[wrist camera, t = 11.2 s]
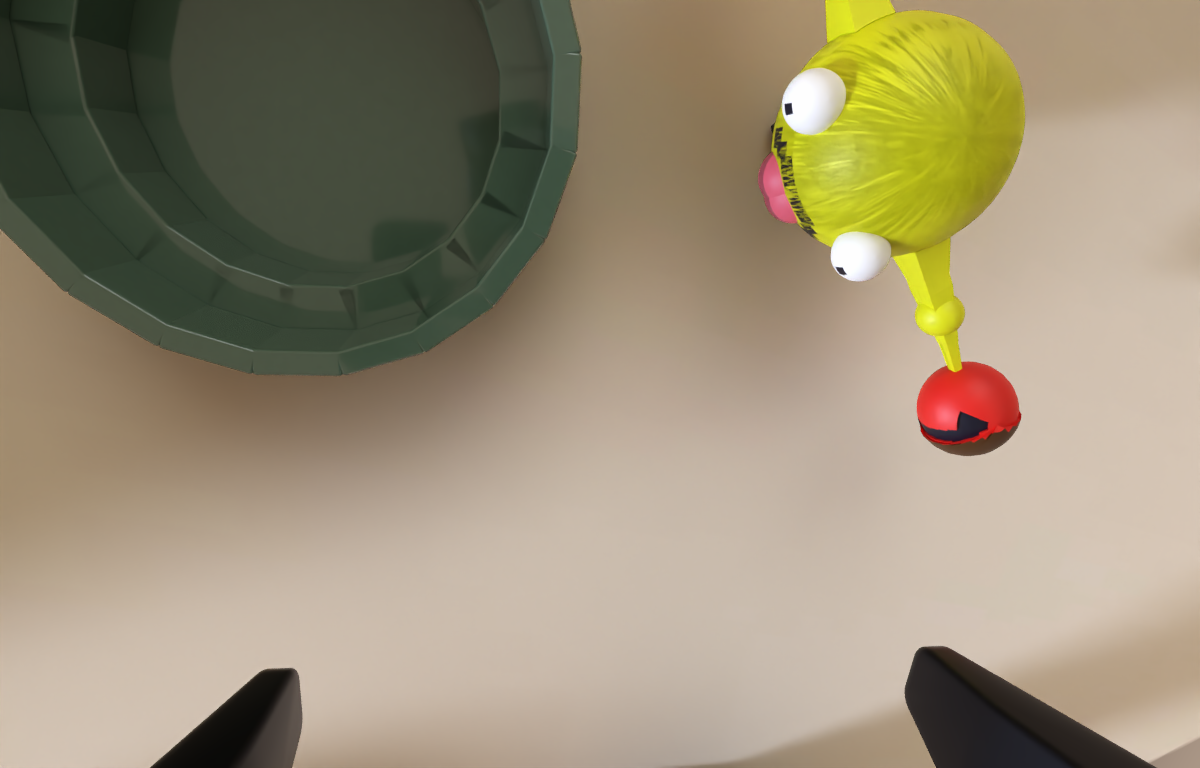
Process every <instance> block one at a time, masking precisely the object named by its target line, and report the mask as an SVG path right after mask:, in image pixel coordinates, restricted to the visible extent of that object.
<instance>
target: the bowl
mask: <svg viewBox="0 0 1200 768" xmlns="http://www.w3.org/2000/svg"><path fill="white" fill-rule="evenodd" d="M580 52H581V46H580V42H579V38H578V33H577V29H576V25H575V20H574V16H573V12H572V8H571V3H570V0H0V229H1V230H2V231H3V232H4V233H5V234H6V235H7V236H8V237H9V238H10V239H11V240H12V241H13V242H14V243H15V244H16V245H17V246H18V247H19V248H20V249H21V250H22V251H23V252H24V253H25V254H26V255H27V256H28V257H30V258H31V259H32V260H33V261H34V262H35V263H36V264H37V265H38V266H39V267H40V268H41V269H42V270H43V271H44V272H45V273H46V274H47V275H48V276H49V277H50V278H51V279H52V280H53V281H54V282H55V283H56V284H57V285H58V286H59V287H60V288H61V289H62V290H63V291H65V292H68V294H69V295H71V296H72V297H74V298H76V299H77V300H79V301H81V302H83V303H84V304H86V305H88V306H89V307H91V308H93V309H94V310H96V311H98V312H100V313H101V314H103V315H105V316H106V317H108V318H110V319H111V320H113V321H115V322H116V323H118V324H120V325H122V326H123V327H125V328H127V329H128V330H130V331H132V332H133V333H135V334H137V335H138V336H140V337H142V338H144V339H145V340H147V341H149V342H150V343H152V344H154V345H156V346H159V345H160V347H161V348H163V349H166V350H170V351H173V352H177V353H180V354H184V355H187V356H191V357H194V358H197V359H201V360H204V361H208V362H211V363H215V364H218V365H221V366H225V367H228V368H232V369H235V370H239V371H242V372H246V373H249V374H252V373H254V374H256V375H311V376H341V375H349V374H352V373H356V372H359V371H363V370H366V369H370V368H373V367H377V366H380V365H384V364H387V363H391V362H395V361H398V360H402V359H405V358H409V357H412V356H416V355H419V354H422V353H424V352H427V351H429V350H430V349H432V348H433V347H435V346H436V345H438V344H439V343H441V342H442V341H444V340H445V339H447V338H448V337H450V336H451V335H453V334H454V333H456V332H457V331H459V330H460V329H462V328H463V327H465V326H466V325H468V324H469V323H471V322H472V321H474V320H475V319H477V318H478V317H480V316H481V315H483V314H484V313H486V312H487V311H489V310H490V309H492V308H493V305H495V304H497V302H498V301H499V300H500V299H501V297H502V296H503V295H504V293H505V292H506V291H507V290H508V288H509V287H510V286H511V284H512V283H513V282H514V281H515V279H516V278H517V277H518V275H519V274H520V273H521V271H522V270H523V269H524V268H525V266H526V265H527V264H528V262H529V261H530V260H531V259H532V257H533V256H534V255H535V253H536V252H537V251H538V250H539V248H540V247H541V246H542V244H543V243H544V241H545V239H546V238H547V237H548V234H549V231H550V228H551V225H552V223H553V220H554V217H555V214H556V212H557V209H558V206H559V203H560V200H561V198H562V195H563V192H564V189H565V186H566V184H567V181H568V178H569V175H570V173H571V170H572V167H573V164H574V161H575V159H576V152H577V148H578V127H579V107H580V86H581V65H582V56H581V54H580Z"/></svg>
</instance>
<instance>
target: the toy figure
mask: <svg viewBox="0 0 1200 768" xmlns="http://www.w3.org/2000/svg"><path fill="white" fill-rule="evenodd" d="M825 7H826V29H827V43H828V44H827V45H825V46H824V47H823V48H822V49H821V50H819V51H818V52H817V53H816V54H815V55H814V56H813V57H812V58H811V59H810V61H809V62H808V63H807V64H806V65H805V67H804V68H803V69H802V70H801V72H800V73H799V75H797V76H796V77H795V78H794V79H793V80H792V81H791V82H790V84H789V85H788V87H787V89H786V90H785V93H784V96H783V100H782V104H781V107H780V109H779V112H778V115H777V118H776V122H775V123H774V124H773V125H772V126H771V131H772V133H773V137H772V147H771V153H770V154H769V155H768V156H767V157H766V158H765V159H764V161H763V163H762V165H761V167H760V170H759V175H758V183H759V187H760V190H761V192H762V194H763V196H764V200H765V204H766V207H767V209H768V211H769V212H770V213H771V215H772V216H773V217H775V218H776V219H778V220H780V221H782V222H785V223H798V225H799V226H800V227H801V228H802V229H803V230H804V231H806V232H807V233H808V234H809V235H810V236H812V237H813V238H815V239H816V240H818V241H820V242H822V243H824V244H826V245H828V246H830V247H832V249H831V262H832V265H833V267H834V269H835V270H836V271H837V273H838V274H839V275H841V276H842V277H844V278H846V279H848V280H851V281H866V280H870V279H872V278H874V277H876V276H877V275H879V274H880V273H881V272H882V271H883V270H884V269H885V268H886V266H887V265H888V263H889V260H890V257H893V258H894V260H895V261H896V263H897V265H898V266H899V268H900V270H901V271H902V273H903V274H904V276H905V278H906V279H907V282H908V285H909V288H910V291H911V293H912V295H913V296H914V298H915V300H916V302H917V304H918V306H917V308H916V311H915V320H916V323H917V325H918V327H919V328H920V329H921V330H922V331H923V332H925V333H927V334H929V335H932V336H935V338H936V340H937V342H938V343H939V346H940V348H941V351H942V353H943V356H944V359H945V361H946V364H947V366H945V367H942V368H940V369H939V370H937V371H936V372H934V373H933V374H932V375H931V376H930V377H929V378H928V379H927V380H926V382H925V383H924V385H923V386H922V388H921V390H920V393H919V396H918V400H917V414H918V420H919V423H920V427H921V432H922V434H923V436H924V437H925V438H926V439H927V440H928V441H929V442H930V443H932V444H933V445H934V446H936V447H937V448H939V449H941V450H943V451H945V452H948V453H951V454H955V455H961V456H974V455H981V454H985V453H988V452H991V451H993V450H995V449H996V448H998V447H1000V446H1001V445H1003V444H1004V443H1005V442H1007V441H1008V440H1009V439H1010V438H1011V436H1012V435H1013V434H1014V432H1015V431H1016V429H1017V427H1018V425H1019V423H1020V420H1021V413H1020V412H1019V403H1018V398H1017V395H1016V393H1015V390H1014V388H1013V386H1012V385H1011V383H1010V382H1009V381H1008V380H1007V379H1006V378H1005V376H1004V375H1003V374H1001V373H1000V372H999V371H997V370H995V369H994V368H992V367H990V366H988V365H985V364H981V363H977V362H961V358H960V351H959V345H958V332H957V329H958V328H959V327H960V326H961V324H962V322H963V320H964V316H965V310H964V306H963V304H962V302H961V301H960V300H959V299H958V298H957V297H956V296H954V292H953V284H952V281H951V277H950V274H949V271H950V237H951V236H953V235H954V234H956V233H957V232H958V231H960V230H961V229H963V228H964V227H966V226H967V225H968V224H970V223H971V222H972V221H973V220H975V219H976V218H977V217H978V216H979V215H980V214H981V213H982V212H983V211H984V210H985V209H986V208H987V207H988V206H989V205H990V204H991V202H992V201H993V200H994V199H995V197H996V196H997V195H998V193H999V192H1000V190H1001V189H1002V187H1003V186H1004V184H1005V182H1006V181H1007V179H1008V177H1009V175H1010V173H1011V171H1012V169H1013V166H1014V164H1015V162H1016V159H1017V157H1018V154H1019V151H1020V147H1021V143H1022V139H1023V134H1024V126H1025V106H1024V97H1023V91H1022V86H1021V82H1020V79H1019V76H1018V73H1017V71H1016V68H1015V66H1014V64H1013V62H1012V61H1011V59H1010V57H1009V56H1008V54H1007V53H1006V52H1005V50H1004V49H1003V48H1002V47H1001V46H1000V45H999V44H998V43H997V42H996V41H995V40H994V39H993V38H992V37H990V36H989V35H988V34H987V33H986V32H984V31H983V30H982V29H981V28H979V27H978V26H976V25H975V24H973V23H971V22H969V21H967V20H965V19H962V18H959V17H956V16H953V15H948V14H943V13H938V12H933V11H925V10H912V11H903V12H898V13H895V10H894V8H893V6H892V4H891V2H890V0H825Z"/></svg>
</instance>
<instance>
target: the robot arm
mask: <svg viewBox="0 0 1200 768" xmlns="http://www.w3.org/2000/svg"><path fill="white" fill-rule="evenodd" d="M905 699H906V703H907V706H908V708H909V711H910V713H911V715H912V717H913V719H914V721H915V723H916V725H917V728H918V730H919V732H920V734H921V736H922V738H923V740H924V743H925V745H926V747H927V749H928V751H929V753H930V755H931V757H932V760H933V762H934V764H935V766H936V768H1156V767H1154V766H1153V765H1151V764H1149V763H1147V762H1146V761H1144V760H1142V759H1141V758H1139V757H1137V756H1135V755H1134V754H1132V753H1130V752H1128V751H1127V750H1125V749H1123V748H1121V747H1120V746H1118V745H1116V744H1115V743H1113V742H1111V741H1109V740H1108V739H1106V738H1104V737H1102V736H1101V735H1099V734H1097V733H1096V732H1094V731H1092V730H1090V729H1089V728H1087V727H1085V726H1083V725H1082V724H1080V723H1078V722H1076V721H1075V720H1073V719H1071V718H1070V717H1068V716H1066V715H1064V714H1063V713H1061V712H1059V711H1057V710H1056V709H1054V708H1052V707H1050V706H1049V705H1047V704H1045V703H1044V702H1042V701H1040V700H1038V699H1037V698H1035V697H1033V696H1031V695H1030V694H1028V693H1026V692H1025V691H1023V690H1021V689H1019V688H1018V687H1016V686H1014V685H1012V684H1011V683H1009V682H1007V681H1005V680H1004V679H1002V678H1000V677H999V676H997V675H995V674H993V673H992V672H990V671H988V670H986V669H985V668H983V667H981V666H980V665H978V664H976V663H974V662H973V661H971V660H969V659H967V658H966V657H964V656H962V655H960V654H959V653H957V652H955V651H954V650H952V649H950V648H948V647H944V646H931V647H921V648H919V649H918V650H917V651H916V653H915V656H914V659H913V662H912V666H911V669H910V672H909V675H908V679H907V682H906V685H905ZM301 729H302V705H301V694H300V682H299V675H298V673H297V671H296V670H295V669H293V668H280V669H266V670H263V671H261V672H259V673H258V674H257V675H256V676H255V677H253V678H252V679H251V680H250V681H249V682H248V683H247V684H245V685H244V686H243V687H242V688H241V689H240V690H239V691H237V692H236V693H235V694H234V695H233V696H232V697H230V698H229V699H228V700H227V701H226V702H225V703H224V704H222V705H221V706H220V707H219V708H218V709H217V710H216V711H214V712H213V713H212V714H211V715H210V716H209V717H208V718H206V719H205V720H204V721H203V722H202V723H201V724H200V725H198V726H197V727H196V728H195V729H194V730H193V731H192V732H190V733H189V734H188V735H187V736H186V737H185V738H184V739H182V740H181V741H180V742H179V743H178V744H177V745H175V746H174V747H173V748H172V749H171V750H170V751H169V752H167V753H166V754H165V755H164V756H163V757H162V758H161V759H159V760H158V761H157V762H156V763H155V764H154V765H153V766H151V767H150V768H292V765H293V761H294V758H295V754H296V750H297V746H298V742H299V738H300V734H301Z"/></svg>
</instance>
